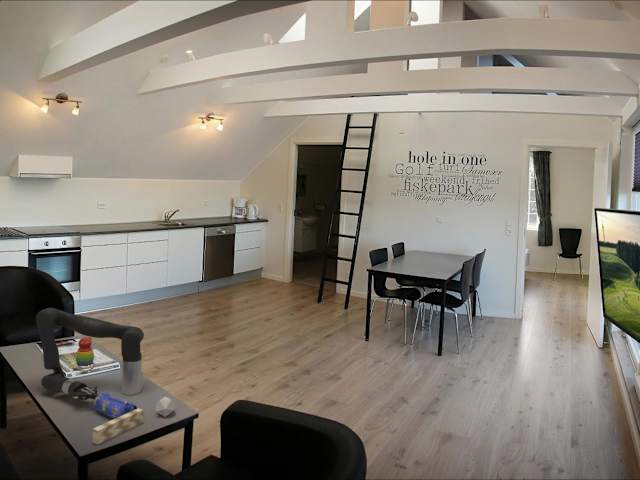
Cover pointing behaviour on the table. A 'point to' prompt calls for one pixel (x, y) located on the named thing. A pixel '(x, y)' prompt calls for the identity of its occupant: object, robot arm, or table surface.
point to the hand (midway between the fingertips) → (98, 397)
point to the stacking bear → (84, 352)
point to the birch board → (117, 426)
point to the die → (165, 406)
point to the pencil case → (112, 405)
